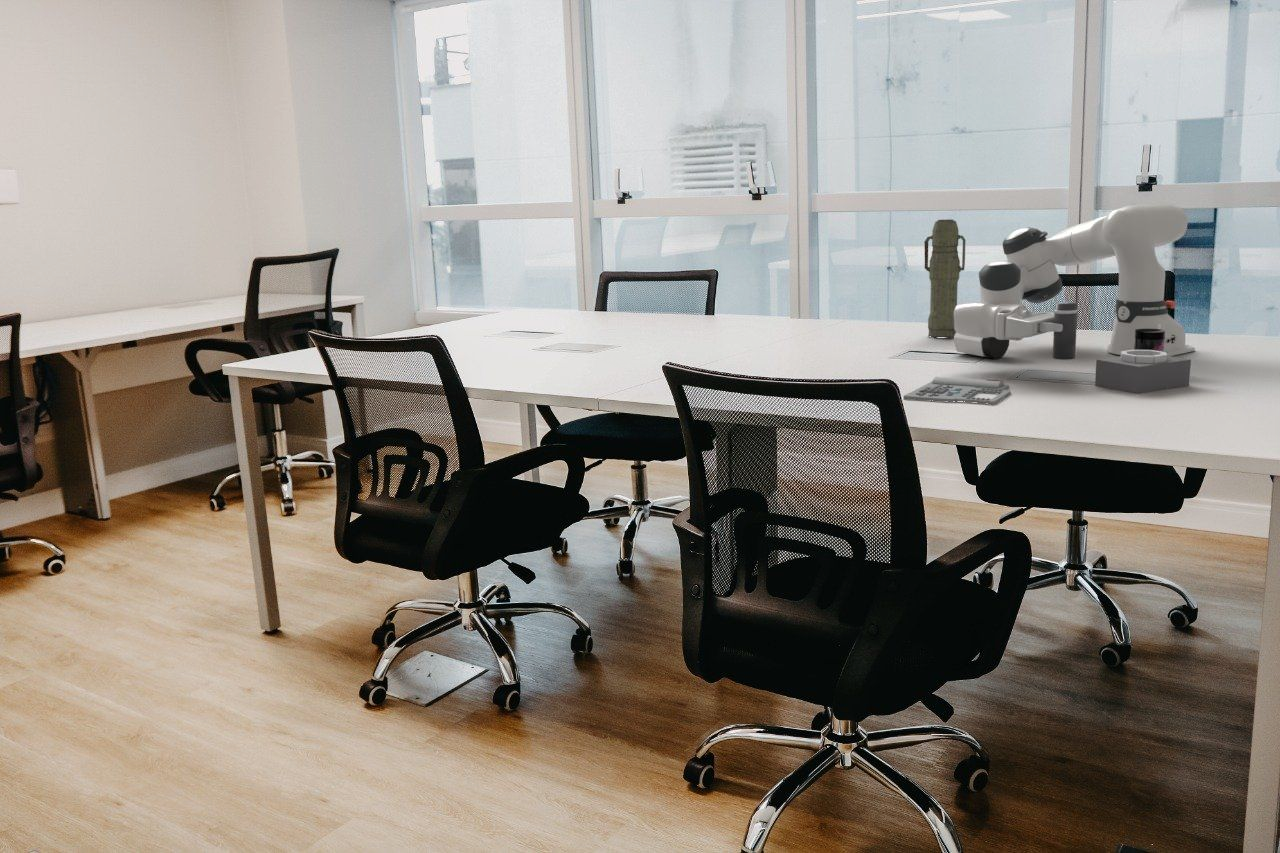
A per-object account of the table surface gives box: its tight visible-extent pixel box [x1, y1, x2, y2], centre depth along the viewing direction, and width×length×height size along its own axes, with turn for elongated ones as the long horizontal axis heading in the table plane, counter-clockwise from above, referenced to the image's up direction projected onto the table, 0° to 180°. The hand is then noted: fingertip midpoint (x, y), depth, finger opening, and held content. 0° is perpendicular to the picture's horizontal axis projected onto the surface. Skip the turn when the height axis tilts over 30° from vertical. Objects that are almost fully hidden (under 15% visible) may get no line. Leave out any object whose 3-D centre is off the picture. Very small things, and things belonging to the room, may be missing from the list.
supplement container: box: [1134, 329, 1165, 352], centre depth 264 cm, size 7×7×10 cm
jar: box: [953, 332, 1010, 360], centre depth 296 cm, size 9×8×12 cm
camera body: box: [1094, 350, 1192, 394], centre depth 250 cm, size 16×12×8 cm
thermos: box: [924, 219, 966, 338], centre depth 331 cm, size 9×12×35 cm
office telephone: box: [903, 376, 1012, 405], centre depth 251 cm, size 23×3×20 cm
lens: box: [1052, 301, 1079, 361], centre depth 260 cm, size 5×5×13 cm
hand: (1069, 326), depth 259 cm, fingers closed on lens, 5 cm apart
